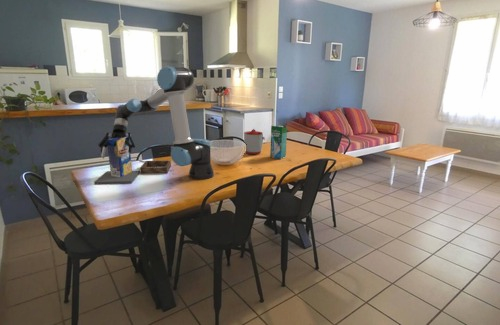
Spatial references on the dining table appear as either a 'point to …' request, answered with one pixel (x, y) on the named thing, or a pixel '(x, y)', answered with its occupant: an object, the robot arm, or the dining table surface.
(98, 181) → the charcoal mat
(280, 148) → the milk carton
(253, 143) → the citrus juicer
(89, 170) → the dining table surface
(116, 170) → the beverage box
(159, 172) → the walnut holder
